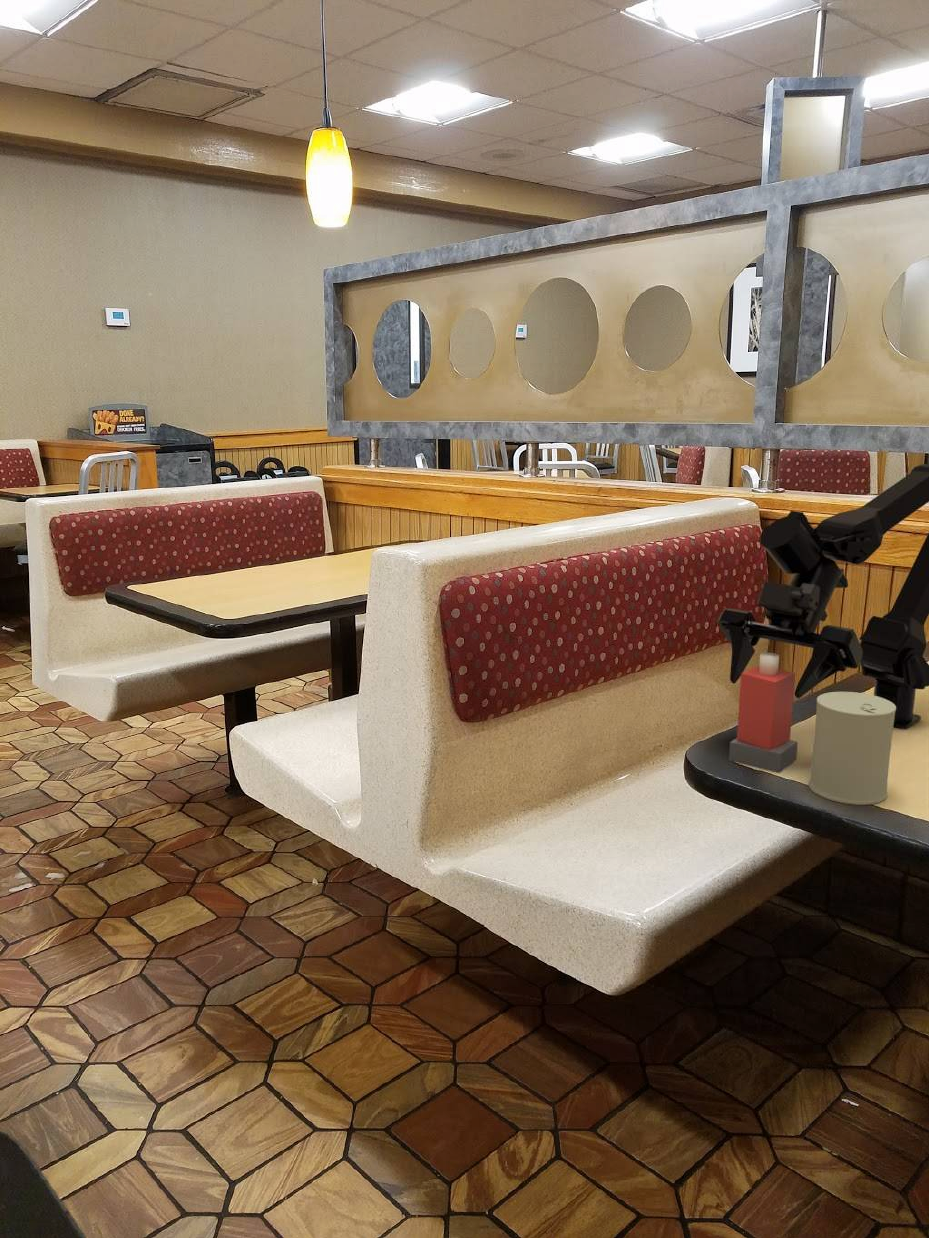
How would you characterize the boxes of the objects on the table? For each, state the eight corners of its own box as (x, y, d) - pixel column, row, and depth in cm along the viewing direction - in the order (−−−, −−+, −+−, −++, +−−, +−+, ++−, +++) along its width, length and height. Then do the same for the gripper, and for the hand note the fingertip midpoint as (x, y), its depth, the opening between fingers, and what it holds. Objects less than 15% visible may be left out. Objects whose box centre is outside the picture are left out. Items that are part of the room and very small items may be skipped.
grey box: (746, 750, 136) (748, 730, 135) (796, 762, 132) (797, 741, 131) (728, 762, 132) (730, 742, 131) (779, 775, 127) (780, 753, 127)
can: (838, 808, 116) (847, 713, 113) (793, 780, 125) (801, 690, 122) (903, 800, 119) (914, 707, 116) (855, 772, 127) (863, 685, 124)
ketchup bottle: (757, 729, 135) (763, 647, 131) (789, 739, 131) (796, 655, 128) (736, 739, 131) (742, 655, 128) (769, 750, 128) (776, 663, 124)
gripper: (728, 551, 134) (681, 642, 129) (862, 567, 122) (815, 670, 117) (752, 598, 142) (708, 686, 137) (881, 618, 129) (838, 716, 124)
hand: (763, 688), depth 128 cm, fingers open, 9 cm apart
